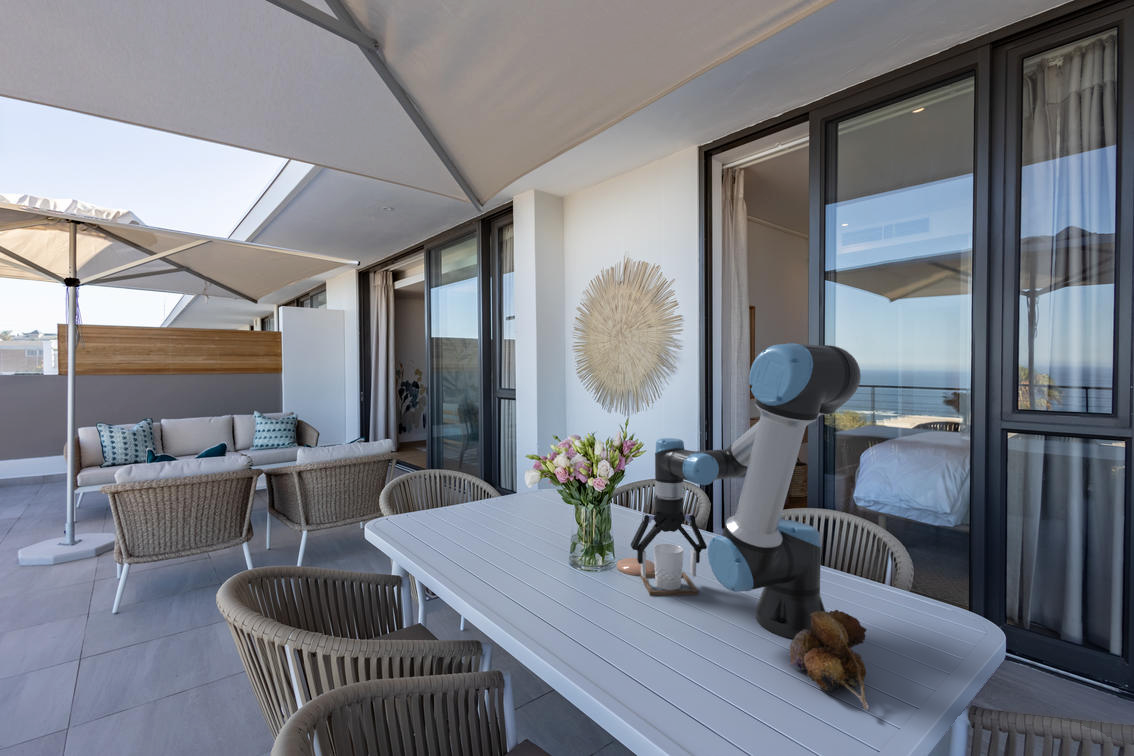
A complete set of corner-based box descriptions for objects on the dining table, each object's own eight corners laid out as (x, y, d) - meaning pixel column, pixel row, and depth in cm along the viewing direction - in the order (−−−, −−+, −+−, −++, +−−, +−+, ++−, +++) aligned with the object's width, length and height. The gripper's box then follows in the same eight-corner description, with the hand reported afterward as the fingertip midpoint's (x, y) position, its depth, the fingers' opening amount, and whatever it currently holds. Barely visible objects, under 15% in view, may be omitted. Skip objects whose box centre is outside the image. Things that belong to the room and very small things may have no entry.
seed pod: (899, 641, 97) (819, 595, 106) (891, 659, 84) (800, 605, 93) (871, 704, 97) (793, 652, 106) (858, 731, 85) (772, 669, 94)
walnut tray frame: (698, 594, 132) (698, 591, 132) (650, 595, 131) (650, 591, 131) (684, 575, 144) (684, 572, 144) (640, 576, 144) (640, 572, 144)
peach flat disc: (658, 575, 145) (658, 571, 145) (620, 575, 144) (620, 572, 144) (650, 561, 156) (650, 557, 156) (614, 561, 155) (614, 558, 155)
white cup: (681, 580, 141) (681, 544, 141) (685, 592, 133) (685, 554, 133) (652, 578, 142) (652, 543, 142) (654, 590, 134) (654, 552, 134)
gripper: (710, 492, 142) (709, 569, 142) (620, 493, 141) (620, 569, 141) (719, 499, 134) (718, 579, 135) (625, 499, 133) (624, 580, 133)
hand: (668, 575), depth 138 cm, fingers open, 13 cm apart
